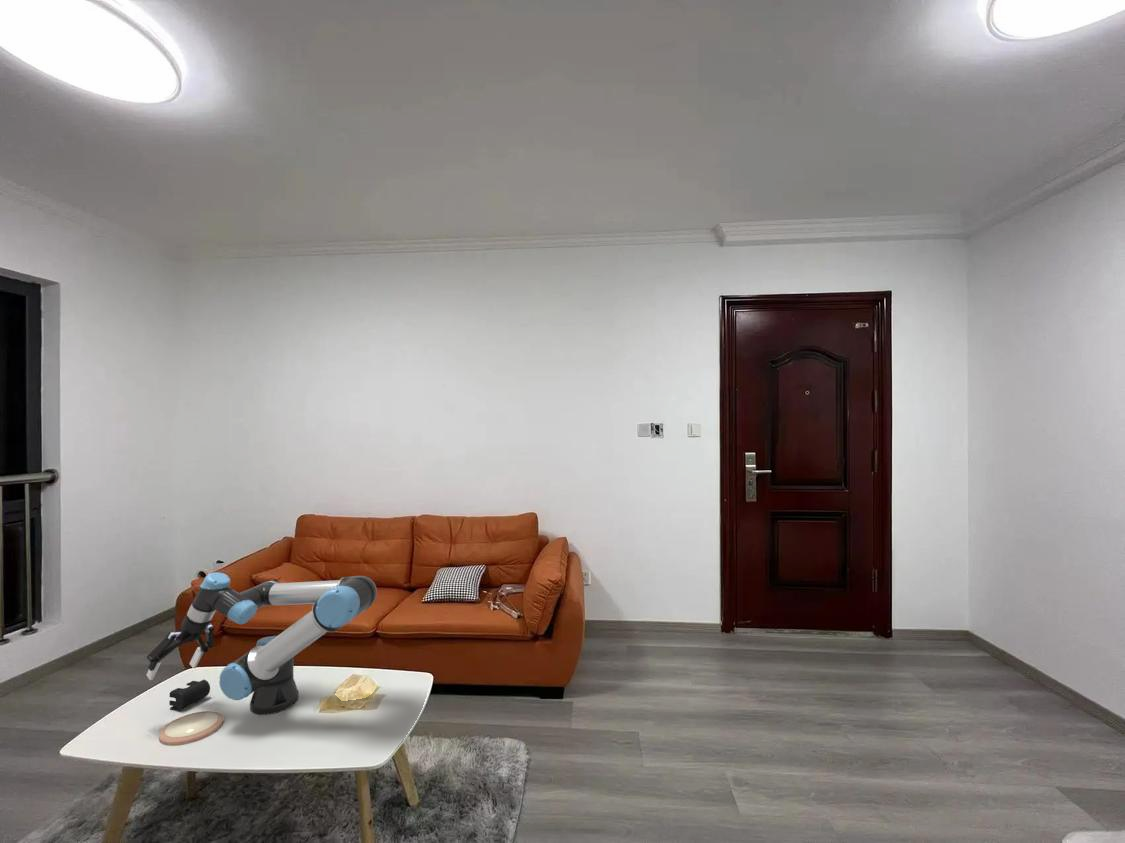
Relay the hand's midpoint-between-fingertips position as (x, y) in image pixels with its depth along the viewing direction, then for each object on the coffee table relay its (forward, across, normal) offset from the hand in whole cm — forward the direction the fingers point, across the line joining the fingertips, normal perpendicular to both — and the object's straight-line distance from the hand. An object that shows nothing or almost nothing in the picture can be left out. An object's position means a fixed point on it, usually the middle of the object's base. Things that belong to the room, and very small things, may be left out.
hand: (171, 671), depth 174 cm
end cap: (+15, -11, +3) cm, 19 cm away
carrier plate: (+8, -1, +19) cm, 21 cm away
